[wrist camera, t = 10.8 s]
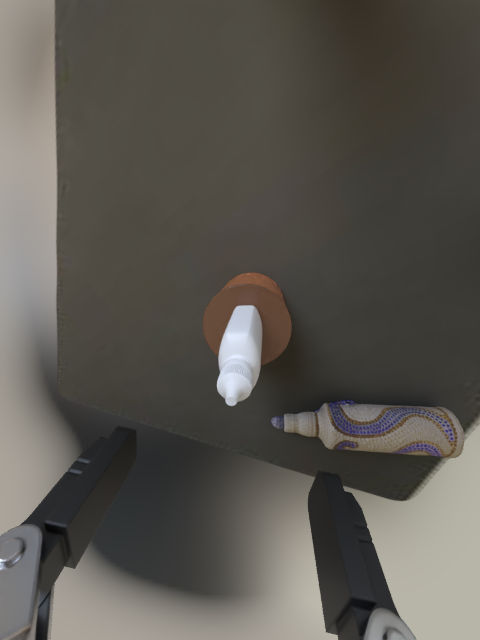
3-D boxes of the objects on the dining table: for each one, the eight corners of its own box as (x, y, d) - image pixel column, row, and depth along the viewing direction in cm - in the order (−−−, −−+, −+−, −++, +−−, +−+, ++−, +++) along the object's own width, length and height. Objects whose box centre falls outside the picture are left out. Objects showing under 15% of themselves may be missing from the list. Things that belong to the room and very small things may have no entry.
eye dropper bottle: (218, 339, 27) (183, 416, 16) (240, 297, 25) (217, 351, 14) (252, 356, 27) (242, 444, 16) (276, 315, 25) (284, 383, 14)
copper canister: (222, 265, 33) (207, 276, 24) (293, 278, 32) (302, 294, 24) (214, 329, 36) (198, 358, 28) (277, 341, 36) (280, 374, 27)
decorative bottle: (440, 395, 36) (476, 429, 30) (428, 432, 39) (458, 471, 32) (271, 388, 39) (272, 418, 33) (270, 423, 42) (271, 457, 35)
